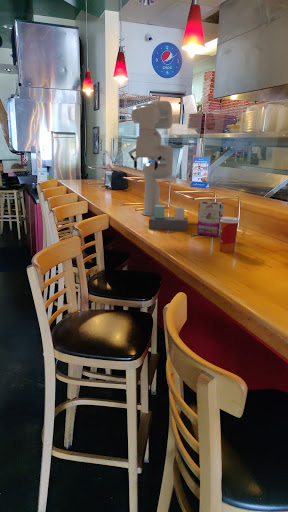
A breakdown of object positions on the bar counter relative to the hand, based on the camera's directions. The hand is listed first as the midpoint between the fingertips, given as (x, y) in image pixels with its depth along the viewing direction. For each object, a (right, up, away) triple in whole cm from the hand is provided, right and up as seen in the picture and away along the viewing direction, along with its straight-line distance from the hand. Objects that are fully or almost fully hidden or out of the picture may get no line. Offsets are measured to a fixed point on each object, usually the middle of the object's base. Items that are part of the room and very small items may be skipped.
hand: (145, 169), depth 183 cm
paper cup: (+34, -41, -28) cm, 60 cm away
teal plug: (+7, -28, +14) cm, 32 cm away
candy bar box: (+32, -33, 0) cm, 45 cm away
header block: (+12, -28, +14) cm, 33 cm away
